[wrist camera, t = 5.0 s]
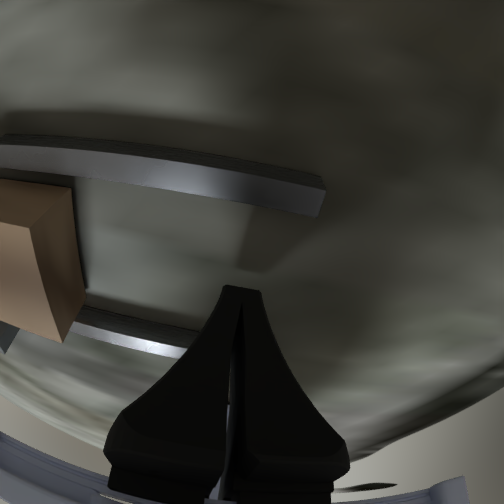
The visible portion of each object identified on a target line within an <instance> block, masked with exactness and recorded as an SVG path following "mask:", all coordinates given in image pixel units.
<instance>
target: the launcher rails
mask: <svg viewBox="0 0 504 504" xmlns="http://www.w3.org/2000/svg"><path fill="white" fill-rule="evenodd" d="M0 168H8V169H18V170H28V171H37V172H46V173H54V174H62V175H71V176H78V177H86V178H93V179H101V180H108V181H115V182H122V183H129V184H135V185H142V186H148V187H155V188H161V189H167V190H173V191H179V192H185V193H191V194H197V195H203V196H208V197H214V198H219V199H225V200H230V201H236V202H241V203H246V204H251V205H257V206H262V207H267V208H272V209H277V210H282V211H287V212H291V213H296V214H301V215H306V216H311V217H315V218H318V215H319V212H320V209H321V206H322V203H323V200H324V197H325V194H326V189H325V186H324V183H323V181H322V178H321V176H316V175H312V174H308V173H304V172H299V171H295V170H290V169H286V168H281V167H276V166H272V165H267V164H262V163H257V162H252V161H247V160H241V159H236V158H230V157H225V156H219V155H213V154H207V153H201V152H195V151H188V150H182V149H175V148H168V147H161V146H153V145H145V144H137V143H128V142H119V141H109V140H99V139H87V138H74V137H59V136H40V135H6V134H5V135H4V136H2V137H0ZM69 331H70V332H74V333H77V334H80V335H84V336H87V337H91V338H94V339H98V340H101V341H105V342H109V343H113V344H116V345H120V346H124V347H128V348H132V349H137V350H141V351H145V352H149V353H154V354H158V355H163V356H167V357H172V358H177V359H180V358H181V356H182V355H183V354H184V353H185V352H186V350H187V349H188V348H189V346H190V345H191V344H192V343H193V341H194V340H195V338H196V337H197V336H198V334H199V333H200V332H198V331H193V330H188V329H183V328H178V327H173V326H168V325H163V324H158V323H154V322H149V321H145V320H140V319H136V318H132V317H127V316H123V315H119V314H115V313H111V312H107V311H103V310H99V309H95V308H91V307H87V306H84V305H82V307H81V309H80V311H79V313H78V314H77V316H76V318H75V320H74V322H73V324H72V326H71V328H70V330H69ZM230 368H231V363H230Z"/></svg>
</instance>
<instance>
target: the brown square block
mask: <svg viewBox="0 0 504 504" xmlns="http://www.w3.org/2000/svg"><path fill="white" fill-rule="evenodd" d="M85 300H86V293H85V288H84V282H83V277H82V271H81V266H80V260H79V253H78V247H77V240H76V232H75V224H74V215H73V205H72V194H71V188H67V187H60V186H53V185H46V184H38V183H31V182H23V181H15V180H7V179H0V320H1V321H3V322H6V323H8V324H11V325H13V326H16V327H18V328H21V329H23V330H26V331H29V332H31V333H34V334H37V335H40V336H43V337H45V338H48V339H51V340H54V341H57V342H60V343H63V341H64V339H65V337H66V335H67V333H68V331H69V330H70V328H71V326H72V324H73V322H74V320H75V318H76V316H77V314H78V313H79V311H80V309H81V307H82V305H83V304H84V302H85Z"/></svg>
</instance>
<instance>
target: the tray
mask: <svg viewBox="0 0 504 504" xmlns="http://www.w3.org/2000/svg"><path fill="white" fill-rule="evenodd" d="M19 329H20V328H18V327H16V326H13V325H11V324H8V323H6V322H3V321H1V320H0V352H1V353H3V354H5V353H6V352H7V350H8V348H9V346H10V345H11V343H12V341H13V339H14V338H15V336H16V334H17V333H18V331H19Z"/></svg>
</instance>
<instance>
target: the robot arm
mask: <svg viewBox="0 0 504 504" xmlns="http://www.w3.org/2000/svg"><path fill="white" fill-rule="evenodd" d="M230 363H231V373H230ZM229 376H230V405H228V390H229ZM103 452H104V455H105V456H106V458H107V459H108V460H109V462H110V463H111V465H112V468H111V472H110V476H109V477H107V476H104V475H101V474H98V473H95V472H92V471H89V470H86V469H83V468H81V467H78V466H75V465H72V464H70V463H67V462H65V461H62V460H60V459H57V458H55V457H53V456H50V455H48V454H46V453H43V452H41V451H39V450H36V449H34V448H32V447H30V446H28V445H26V444H24V443H22V442H20V441H18V440H16V439H14V438H12V437H10V436H8V435H6V434H4V433H3V432H1V431H0V498H1V499H3V500H4V501H6V502H8V503H9V504H123V503H120V502H117V501H114V500H111V499H109V498H106V497H103V496H101V495H100V494H102V495H105V496H108V497H112V498H115V499H118V500H122V501H126V502H129V503H133V504H470V502H469V497H468V491H467V486H466V481H465V477H464V476H460V477H457V478H453V479H449V480H446V481H443V482H440V483H438V484H435V485H433V486H432V487H430V488H428V489H424V490H420V491H415V492H410V493H405V494H400V495H395V496H388V497H382V498H375V499H368V500H360V501H349V502H337V503H331V493H332V492H333V491H334V483H333V482H334V481H335V480H337V479H339V478H340V477H342V476H344V475H345V474H346V473H347V472H348V471H349V469H350V460H349V455H348V451H347V447H346V443H345V440H344V439H343V438H342V437H341V436H340V435H339V434H338V433H337V432H336V431H335V430H334V429H333V428H332V427H331V426H330V425H329V424H328V423H327V421H326V420H325V419H324V418H323V417H322V415H321V414H320V413H319V412H318V411H317V409H316V408H315V407H314V405H313V404H312V402H311V401H310V400H309V398H308V397H307V396H306V394H305V393H304V391H303V390H302V388H301V387H300V385H299V384H298V382H297V381H296V379H295V377H294V376H293V374H292V372H291V370H290V369H289V367H288V365H287V363H286V361H285V359H284V357H283V355H282V353H281V351H280V348H279V346H278V344H277V342H276V339H275V337H274V334H273V332H272V329H271V326H270V324H269V321H268V318H267V315H266V311H265V308H264V304H263V300H262V295H261V292H260V291H259V290H254V289H248V288H243V287H237V286H231V285H225V286H223V289H222V292H221V295H220V298H219V300H218V302H217V304H216V306H215V308H214V310H213V312H212V313H211V315H210V317H209V319H208V320H207V322H206V324H205V325H204V327H203V328H202V330H201V331H200V333H199V334H198V336H197V337H196V338H195V340H194V341H193V343H192V344H191V345H190V346H189V348H188V349H187V350H186V352H185V353H184V354H183V355H182V356H181V358H180V359H179V360H178V361H177V362H176V363H175V364H174V365H173V366H172V367H171V369H170V370H169V371H168V372H167V373H166V374H165V375H164V376H163V377H162V378H161V379H160V380H158V381H157V382H156V383H155V384H154V385H153V386H152V387H151V388H150V389H149V390H147V391H146V392H145V393H144V394H143V395H142V396H140V397H139V398H138V399H137V400H135V401H134V402H133V403H131V404H130V405H129V406H127V407H126V408H125V409H123V410H122V411H121V413H120V414H119V415H118V417H117V418H116V420H115V422H114V423H113V425H112V427H111V429H110V431H109V433H108V435H107V439H106V442H105V446H104V449H103Z"/></svg>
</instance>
